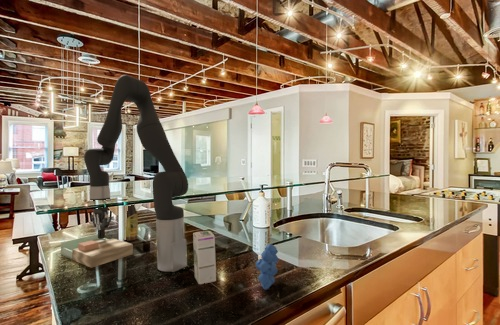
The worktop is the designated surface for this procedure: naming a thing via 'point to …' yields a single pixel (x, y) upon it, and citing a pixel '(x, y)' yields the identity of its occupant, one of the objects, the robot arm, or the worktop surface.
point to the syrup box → (204, 257)
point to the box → (76, 244)
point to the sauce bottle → (132, 223)
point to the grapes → (267, 266)
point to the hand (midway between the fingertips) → (101, 238)
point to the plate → (103, 253)
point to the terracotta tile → (88, 245)
